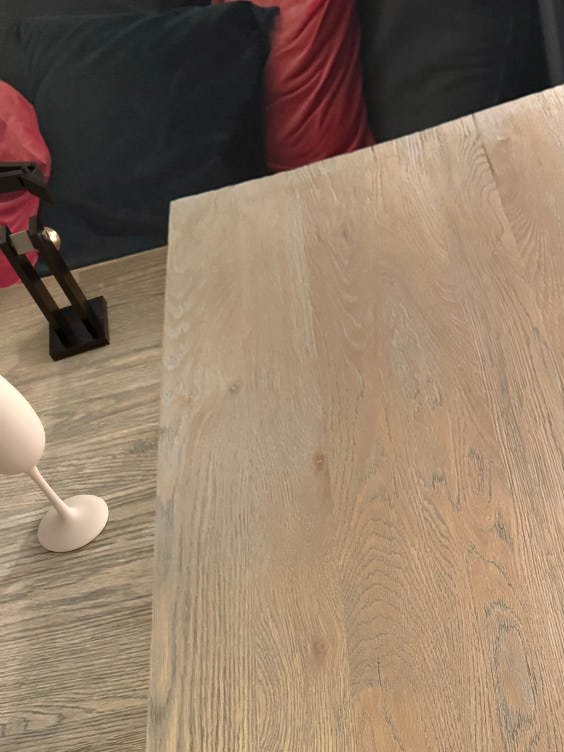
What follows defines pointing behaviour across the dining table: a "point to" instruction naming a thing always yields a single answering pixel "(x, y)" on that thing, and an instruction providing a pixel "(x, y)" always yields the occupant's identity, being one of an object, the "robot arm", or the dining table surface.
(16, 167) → the robot arm
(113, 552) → the dining table surface
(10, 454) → the wineglass
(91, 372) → the dining table surface
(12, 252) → the bracket
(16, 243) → the lever
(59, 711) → the dining table surface
